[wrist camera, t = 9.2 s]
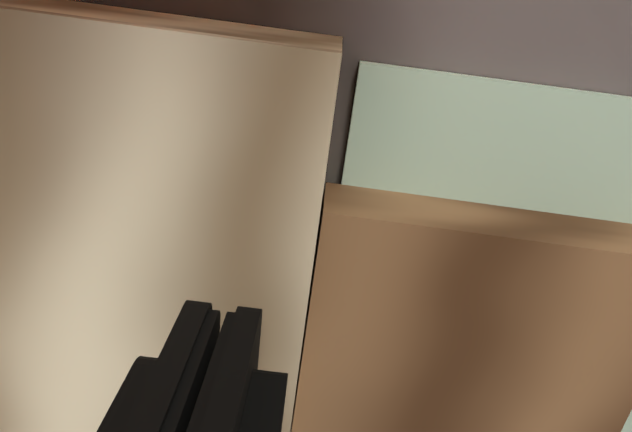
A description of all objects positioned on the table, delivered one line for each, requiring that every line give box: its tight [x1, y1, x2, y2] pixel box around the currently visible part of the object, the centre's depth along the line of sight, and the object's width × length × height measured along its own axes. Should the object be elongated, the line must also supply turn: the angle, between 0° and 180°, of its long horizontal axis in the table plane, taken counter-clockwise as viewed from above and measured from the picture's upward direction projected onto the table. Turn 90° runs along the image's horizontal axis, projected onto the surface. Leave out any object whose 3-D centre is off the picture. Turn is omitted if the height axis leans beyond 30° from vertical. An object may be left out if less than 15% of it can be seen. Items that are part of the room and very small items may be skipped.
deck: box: [0, 0, 343, 432], centre depth 14 cm, size 16×13×3 cm
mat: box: [341, 61, 632, 432], centre depth 15 cm, size 14×12×1 cm
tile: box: [291, 182, 632, 432], centre depth 15 cm, size 9×7×2 cm
